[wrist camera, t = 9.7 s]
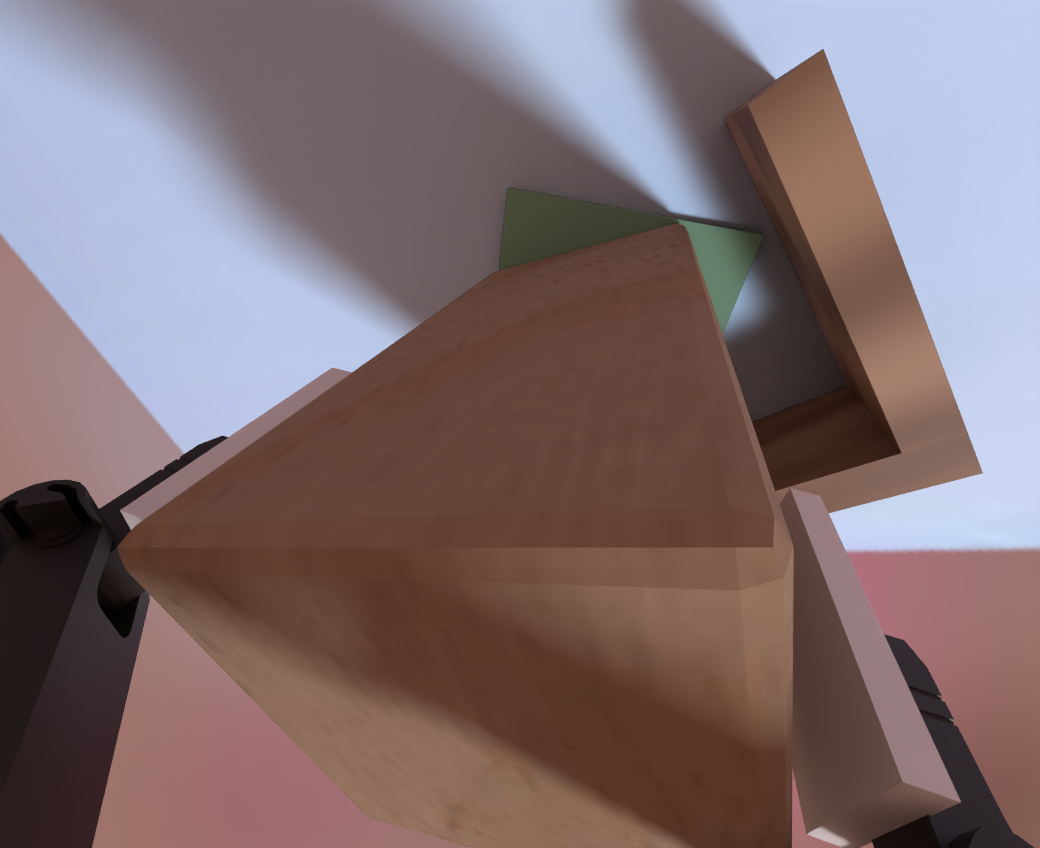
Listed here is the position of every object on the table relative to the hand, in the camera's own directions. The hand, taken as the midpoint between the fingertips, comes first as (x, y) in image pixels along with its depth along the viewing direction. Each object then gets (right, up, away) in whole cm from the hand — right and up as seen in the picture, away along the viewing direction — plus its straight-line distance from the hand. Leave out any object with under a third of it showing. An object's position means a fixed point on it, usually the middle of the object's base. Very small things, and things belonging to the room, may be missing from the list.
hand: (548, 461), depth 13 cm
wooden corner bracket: (+6, +4, +11) cm, 13 cm away
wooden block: (+4, +6, +11) cm, 13 cm away
